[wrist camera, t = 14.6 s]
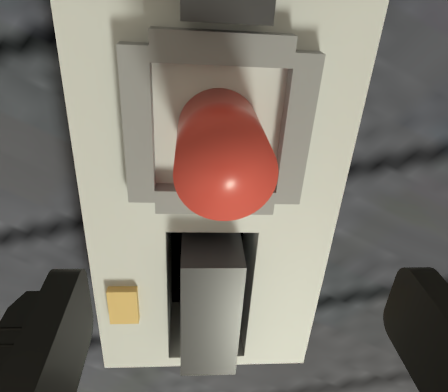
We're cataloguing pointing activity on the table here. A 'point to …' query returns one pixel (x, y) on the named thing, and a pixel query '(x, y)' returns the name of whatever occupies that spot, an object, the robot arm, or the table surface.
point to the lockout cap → (223, 157)
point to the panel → (166, 144)
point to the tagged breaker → (211, 302)
